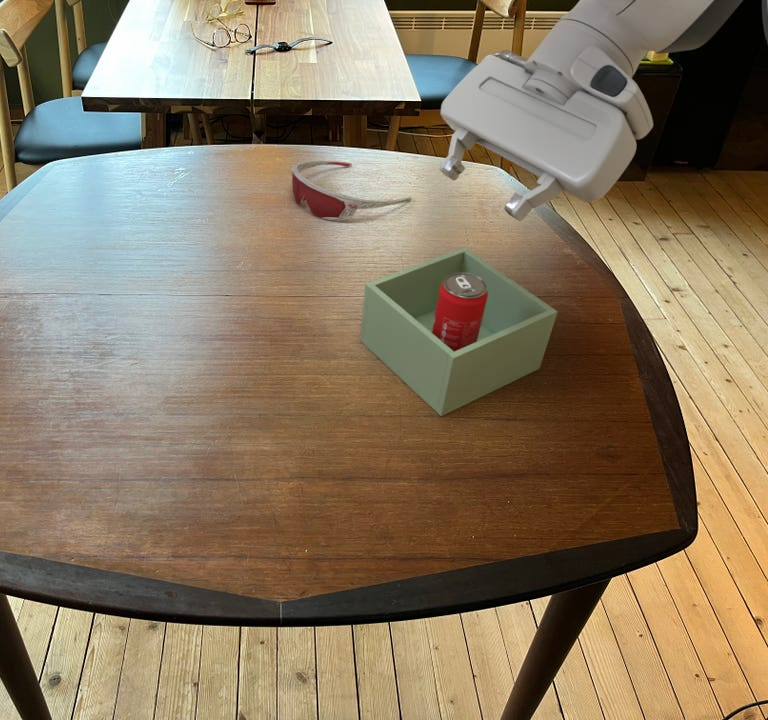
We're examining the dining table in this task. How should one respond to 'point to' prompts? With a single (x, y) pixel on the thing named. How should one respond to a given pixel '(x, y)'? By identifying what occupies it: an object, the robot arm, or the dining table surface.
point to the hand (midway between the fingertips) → (477, 194)
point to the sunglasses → (330, 195)
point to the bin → (434, 358)
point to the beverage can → (460, 310)
